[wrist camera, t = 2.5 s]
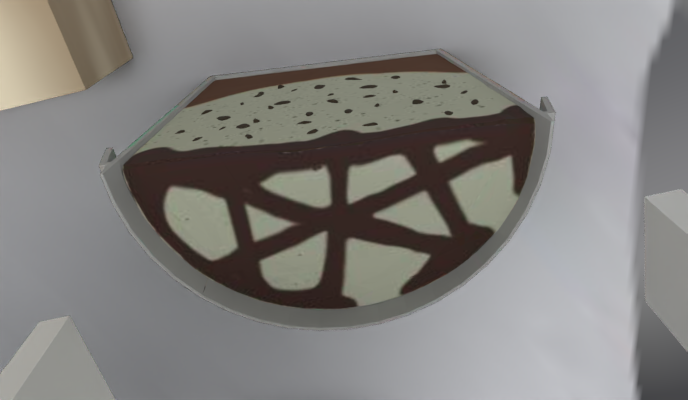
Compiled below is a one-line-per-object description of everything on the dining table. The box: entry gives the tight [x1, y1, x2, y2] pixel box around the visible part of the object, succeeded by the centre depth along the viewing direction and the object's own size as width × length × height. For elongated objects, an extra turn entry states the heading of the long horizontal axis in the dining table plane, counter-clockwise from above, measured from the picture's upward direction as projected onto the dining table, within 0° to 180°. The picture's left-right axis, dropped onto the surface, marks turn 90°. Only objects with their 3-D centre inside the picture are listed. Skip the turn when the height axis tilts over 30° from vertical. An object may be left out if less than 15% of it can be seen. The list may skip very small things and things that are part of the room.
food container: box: [99, 49, 556, 331], centre depth 20 cm, size 12×6×10 cm, turn 96°
